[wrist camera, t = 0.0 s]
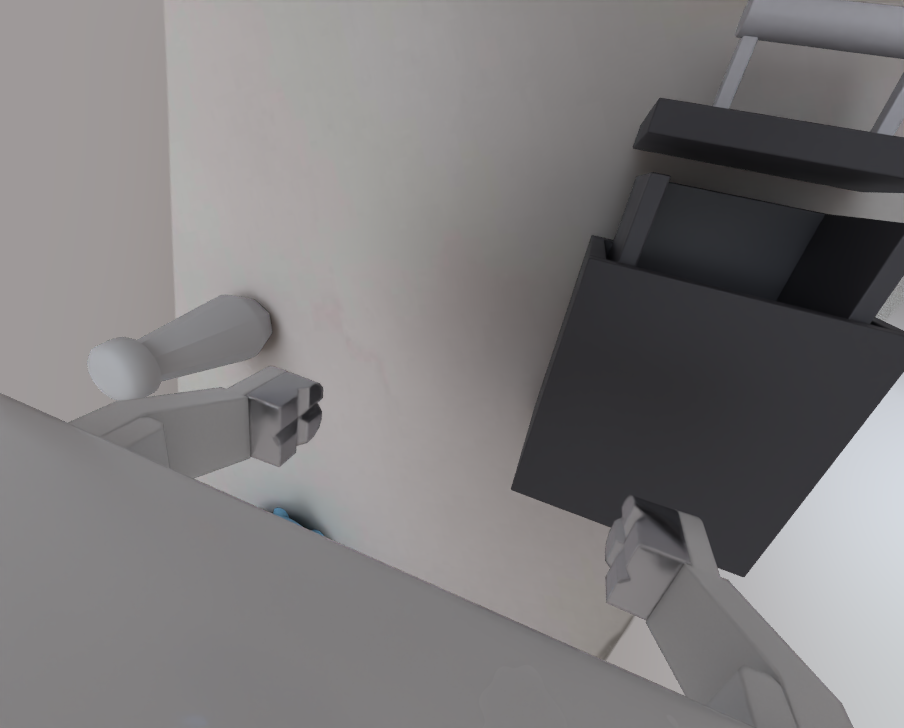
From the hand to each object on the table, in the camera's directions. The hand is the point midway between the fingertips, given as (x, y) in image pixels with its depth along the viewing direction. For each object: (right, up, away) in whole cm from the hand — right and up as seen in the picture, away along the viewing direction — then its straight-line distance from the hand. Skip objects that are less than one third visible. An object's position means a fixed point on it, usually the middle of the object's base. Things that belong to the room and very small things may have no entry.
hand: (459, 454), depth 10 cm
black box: (+13, +3, +17) cm, 22 cm away
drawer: (+15, +10, +13) cm, 22 cm away
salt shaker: (-18, +6, +27) cm, 33 cm away
